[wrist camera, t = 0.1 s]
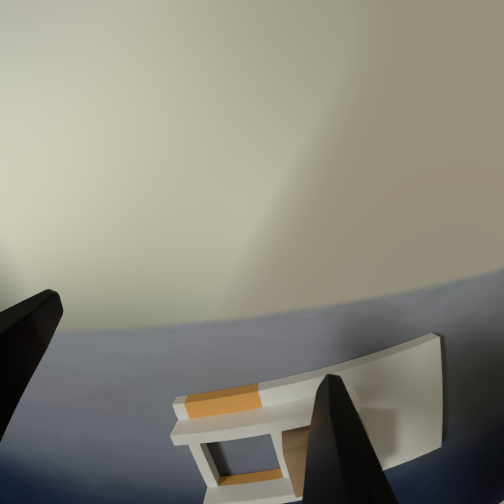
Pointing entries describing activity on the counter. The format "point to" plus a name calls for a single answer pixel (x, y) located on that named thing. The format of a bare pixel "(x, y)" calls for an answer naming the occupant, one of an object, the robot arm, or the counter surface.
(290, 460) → the walnut block
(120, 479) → the counter surface
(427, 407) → the white mounting bracket
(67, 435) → the counter surface
